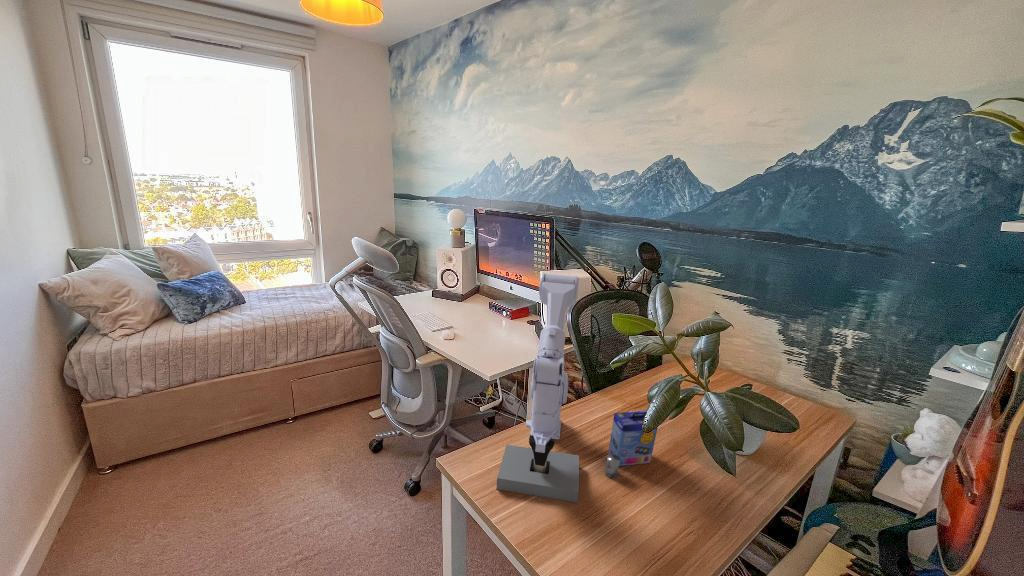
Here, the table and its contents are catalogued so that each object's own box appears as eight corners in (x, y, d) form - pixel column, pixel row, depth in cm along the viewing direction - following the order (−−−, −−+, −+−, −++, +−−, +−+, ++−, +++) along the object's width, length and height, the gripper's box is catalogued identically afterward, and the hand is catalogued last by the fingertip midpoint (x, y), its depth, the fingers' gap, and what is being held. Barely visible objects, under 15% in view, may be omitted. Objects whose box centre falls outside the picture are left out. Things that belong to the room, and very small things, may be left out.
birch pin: (534, 465, 98) (536, 436, 96) (546, 467, 97) (549, 438, 95) (532, 474, 95) (534, 444, 93) (545, 476, 95) (547, 446, 92)
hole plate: (505, 454, 104) (506, 444, 103) (577, 466, 101) (579, 455, 100) (496, 489, 92) (497, 477, 91) (577, 502, 90) (578, 491, 89)
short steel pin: (604, 469, 101) (606, 453, 100) (617, 470, 100) (619, 455, 99) (605, 477, 98) (607, 461, 97) (618, 479, 97) (620, 463, 96)
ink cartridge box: (616, 468, 101) (624, 416, 97) (606, 453, 106) (613, 403, 103) (652, 463, 104) (661, 413, 100) (641, 449, 109) (649, 401, 105)
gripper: (531, 389, 99) (527, 437, 103) (523, 423, 85) (519, 478, 89) (560, 393, 98) (555, 442, 102) (557, 428, 84) (551, 483, 88)
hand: (540, 459), depth 95 cm, fingers closed on birch pin, 3 cm apart
